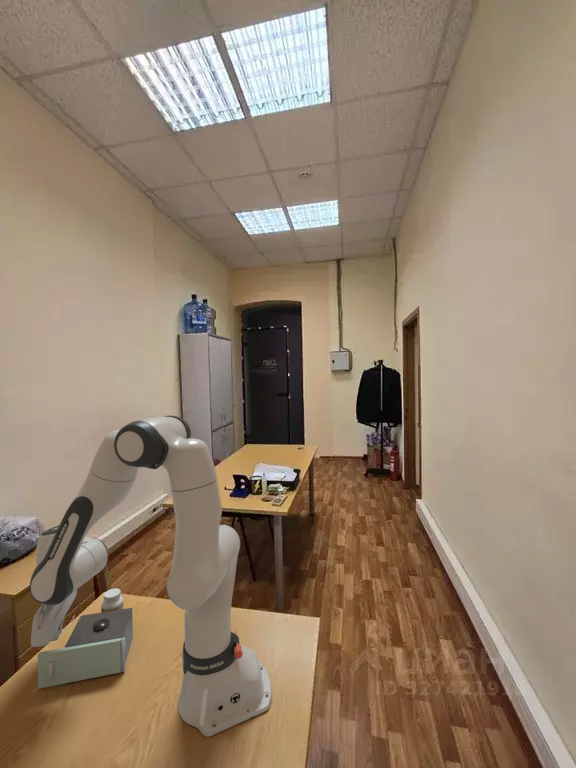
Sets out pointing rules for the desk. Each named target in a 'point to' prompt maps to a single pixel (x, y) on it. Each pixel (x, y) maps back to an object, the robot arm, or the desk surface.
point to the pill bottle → (112, 600)
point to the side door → (81, 662)
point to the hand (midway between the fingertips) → (56, 637)
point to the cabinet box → (103, 628)
